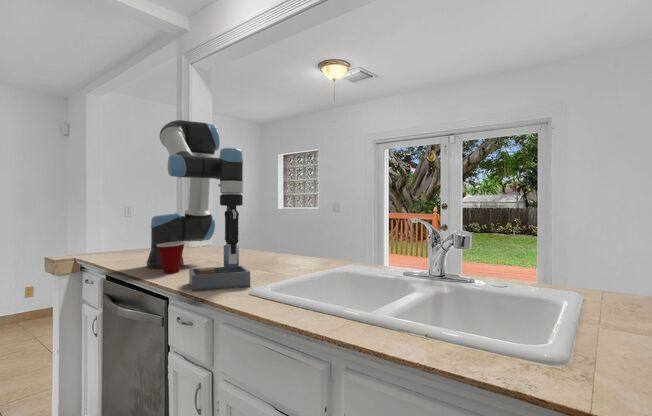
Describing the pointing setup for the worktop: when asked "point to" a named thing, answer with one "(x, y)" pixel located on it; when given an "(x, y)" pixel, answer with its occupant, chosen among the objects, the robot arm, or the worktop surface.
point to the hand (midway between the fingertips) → (231, 262)
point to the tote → (219, 279)
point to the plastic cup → (171, 256)
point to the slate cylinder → (226, 257)
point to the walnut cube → (206, 270)
